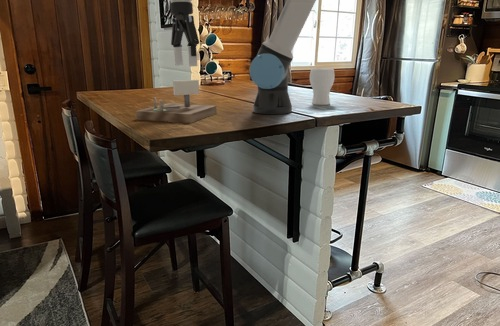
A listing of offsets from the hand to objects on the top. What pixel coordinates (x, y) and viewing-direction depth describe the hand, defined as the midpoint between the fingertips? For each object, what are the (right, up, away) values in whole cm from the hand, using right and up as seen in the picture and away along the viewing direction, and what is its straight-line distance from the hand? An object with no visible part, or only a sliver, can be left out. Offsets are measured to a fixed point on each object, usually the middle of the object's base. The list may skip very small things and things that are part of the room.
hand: (186, 65), depth 138 cm
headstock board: (-4, -18, +5) cm, 19 cm away
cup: (+54, -9, +31) cm, 63 cm away
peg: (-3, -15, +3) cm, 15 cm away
